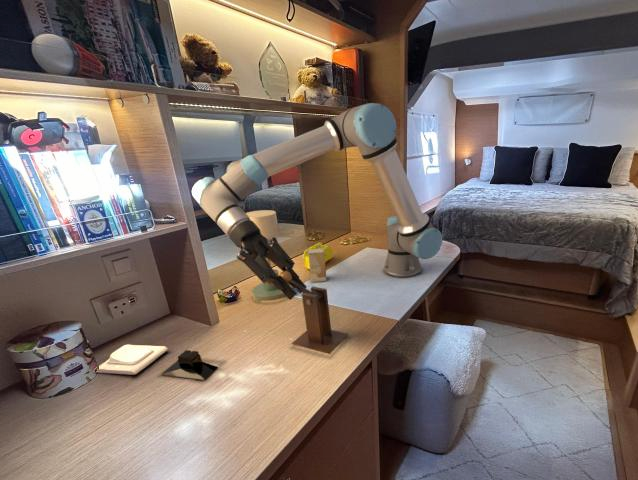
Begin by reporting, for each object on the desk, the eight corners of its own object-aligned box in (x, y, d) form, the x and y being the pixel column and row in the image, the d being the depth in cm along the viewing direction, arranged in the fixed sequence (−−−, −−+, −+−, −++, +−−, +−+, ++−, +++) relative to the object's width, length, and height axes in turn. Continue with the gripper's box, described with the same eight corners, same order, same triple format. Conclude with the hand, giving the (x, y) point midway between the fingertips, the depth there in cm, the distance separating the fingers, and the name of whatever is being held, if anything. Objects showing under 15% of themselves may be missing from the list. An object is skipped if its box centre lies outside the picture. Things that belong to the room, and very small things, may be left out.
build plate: (222, 363, 87) (219, 348, 86) (204, 382, 81) (199, 366, 79) (181, 358, 90) (177, 343, 88) (160, 376, 83) (154, 360, 82)
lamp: (271, 285, 133) (257, 208, 121) (300, 290, 127) (289, 210, 115) (245, 300, 121) (226, 217, 109) (275, 306, 116) (260, 219, 104)
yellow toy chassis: (322, 258, 160) (320, 240, 157) (333, 259, 158) (331, 241, 155) (304, 270, 146) (301, 251, 143) (315, 271, 144) (313, 252, 141)
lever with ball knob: (273, 282, 90) (276, 271, 88) (282, 277, 93) (285, 266, 91) (313, 309, 87) (317, 298, 85) (321, 302, 91) (325, 291, 89)
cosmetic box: (311, 282, 133) (307, 253, 128) (311, 278, 137) (307, 249, 132) (327, 280, 134) (324, 251, 129) (327, 276, 138) (323, 248, 133)
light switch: (126, 337, 94) (164, 338, 92) (131, 349, 96) (169, 351, 93) (88, 361, 85) (129, 363, 82) (95, 374, 86) (136, 377, 83)
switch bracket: (292, 348, 92) (283, 295, 86) (313, 329, 100) (306, 281, 94) (329, 357, 87) (323, 303, 81) (348, 338, 96) (344, 287, 89)
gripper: (256, 229, 100) (309, 288, 99) (209, 246, 86) (271, 314, 86) (267, 212, 95) (323, 274, 95) (219, 227, 81) (284, 299, 81)
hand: (298, 293), depth 90 cm, fingers closed on lever with ball knob, 4 cm apart
